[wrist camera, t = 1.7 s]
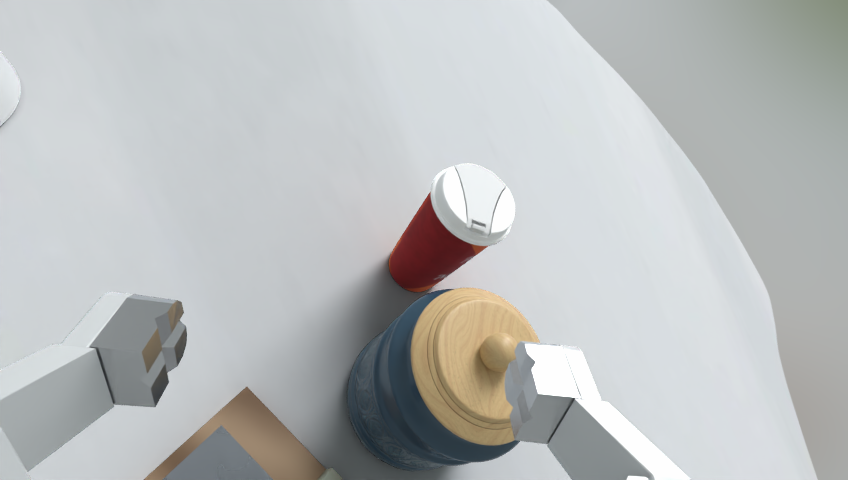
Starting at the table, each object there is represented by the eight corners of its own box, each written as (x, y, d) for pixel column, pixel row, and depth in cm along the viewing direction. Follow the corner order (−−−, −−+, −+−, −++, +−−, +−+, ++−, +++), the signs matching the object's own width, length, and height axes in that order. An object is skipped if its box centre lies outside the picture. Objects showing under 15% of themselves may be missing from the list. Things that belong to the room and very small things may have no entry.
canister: (437, 501, 41) (566, 498, 27) (315, 423, 39) (384, 378, 26) (484, 375, 49) (603, 323, 35) (384, 308, 47) (465, 226, 34)
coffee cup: (443, 310, 50) (521, 250, 38) (373, 290, 48) (433, 220, 36) (448, 246, 55) (519, 174, 43) (384, 225, 52) (441, 143, 40)
